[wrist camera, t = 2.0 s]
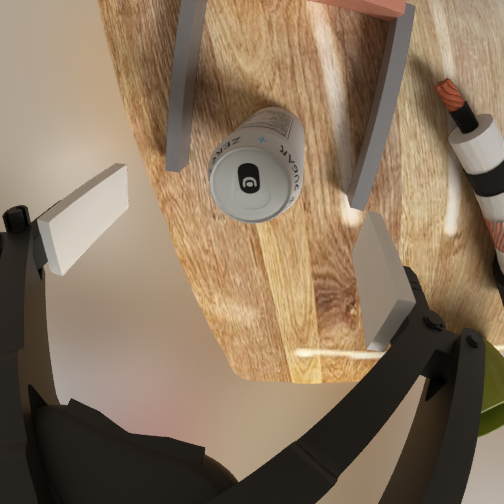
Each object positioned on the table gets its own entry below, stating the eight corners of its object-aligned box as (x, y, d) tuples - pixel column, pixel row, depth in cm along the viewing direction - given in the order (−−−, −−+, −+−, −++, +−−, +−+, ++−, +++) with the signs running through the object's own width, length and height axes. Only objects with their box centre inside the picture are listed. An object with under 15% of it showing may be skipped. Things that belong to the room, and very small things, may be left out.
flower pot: (468, 313, 38) (498, 397, 25) (515, 326, 38) (542, 395, 25) (420, 367, 47) (432, 443, 34) (469, 373, 46) (485, 438, 33)
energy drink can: (249, 162, 31) (209, 233, 19) (242, 108, 28) (191, 141, 16) (305, 160, 30) (304, 231, 18) (302, 104, 27) (299, 132, 15)
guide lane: (197, -24, 20) (179, -37, 16) (405, 11, 19) (422, 2, 15) (176, 161, 33) (157, 177, 29) (359, 198, 32) (366, 220, 27)
